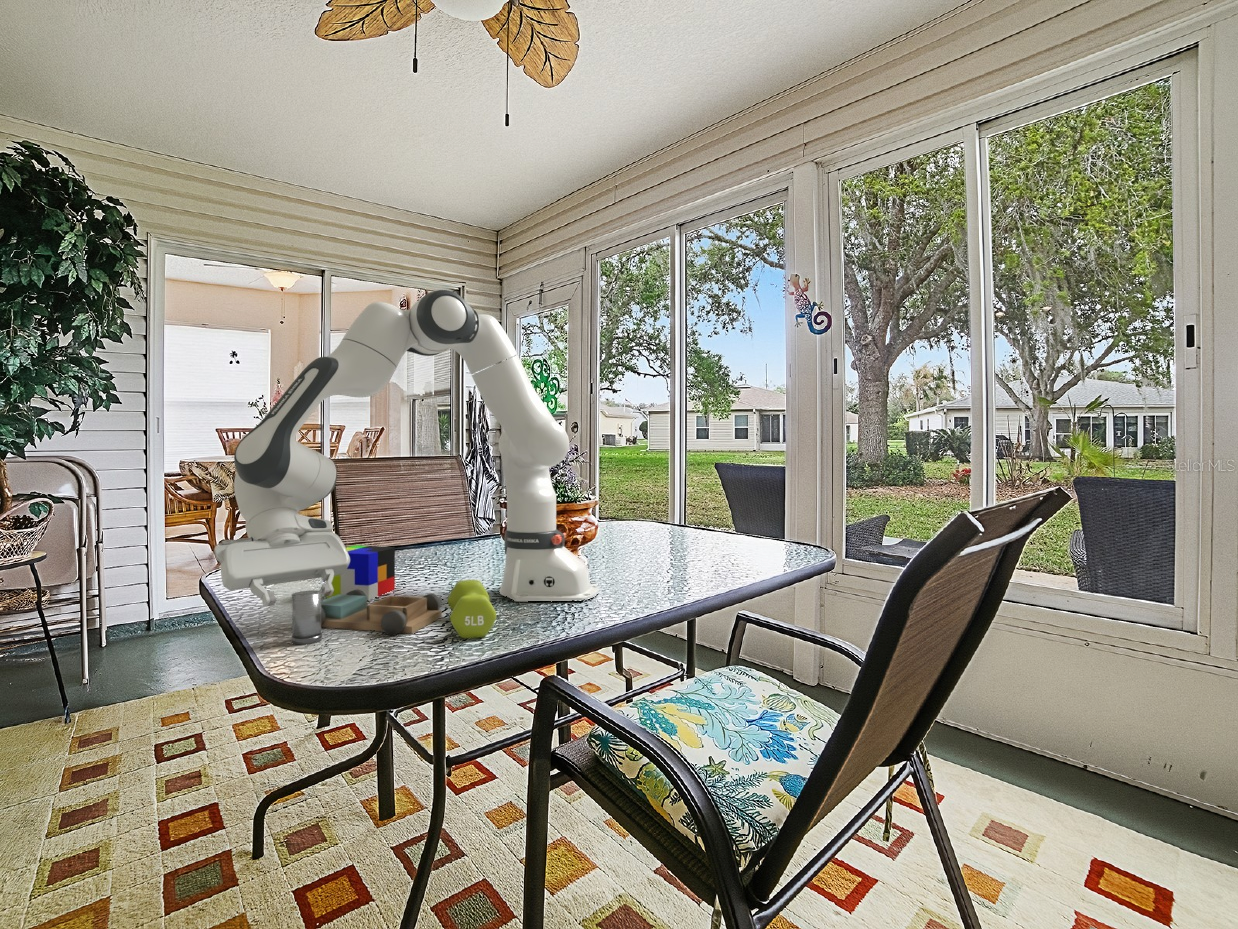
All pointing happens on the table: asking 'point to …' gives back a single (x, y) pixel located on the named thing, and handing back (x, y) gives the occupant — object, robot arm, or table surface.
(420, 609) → the chassis
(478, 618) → the dumbbell
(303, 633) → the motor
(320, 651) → the table surface
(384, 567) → the puzzle toy
